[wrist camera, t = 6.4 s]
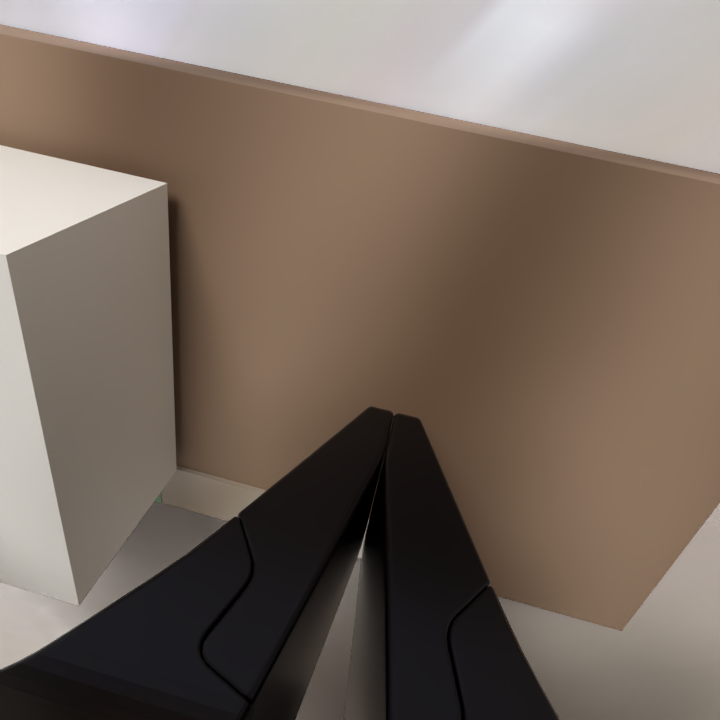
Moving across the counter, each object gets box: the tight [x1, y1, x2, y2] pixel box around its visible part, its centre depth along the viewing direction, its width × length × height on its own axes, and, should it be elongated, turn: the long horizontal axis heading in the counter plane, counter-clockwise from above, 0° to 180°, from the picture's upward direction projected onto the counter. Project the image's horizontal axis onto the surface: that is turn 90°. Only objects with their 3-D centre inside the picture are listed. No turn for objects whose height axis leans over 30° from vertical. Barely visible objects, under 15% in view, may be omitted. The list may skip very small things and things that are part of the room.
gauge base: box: [0, 25, 720, 631], centre depth 10 cm, size 22×9×1 cm, turn 81°
